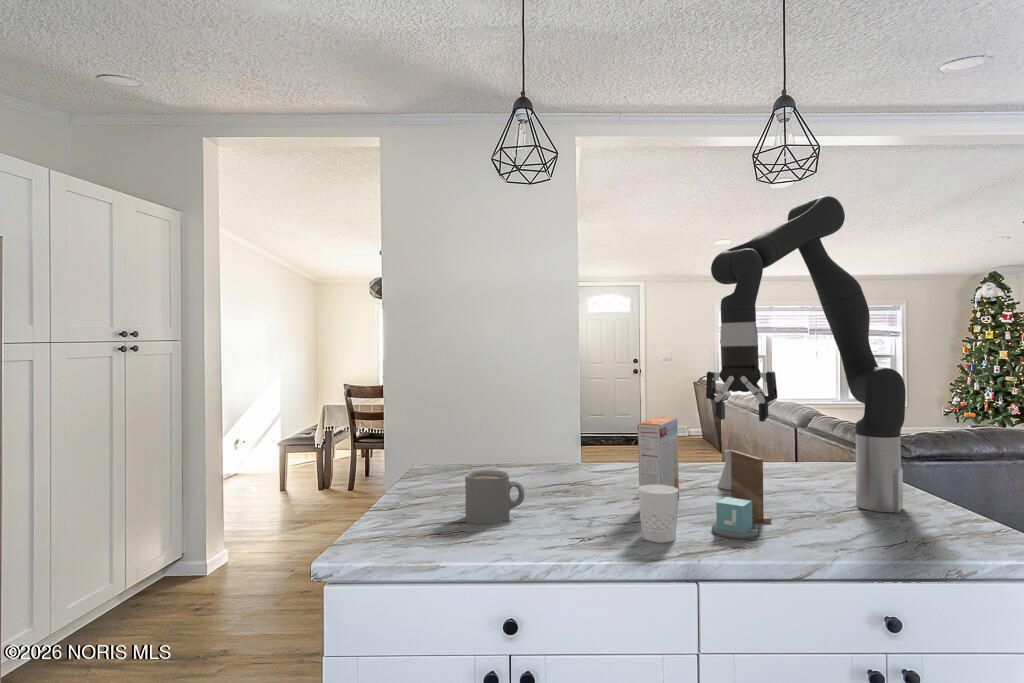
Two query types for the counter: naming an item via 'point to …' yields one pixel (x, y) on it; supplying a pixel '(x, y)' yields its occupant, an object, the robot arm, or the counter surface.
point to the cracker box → (658, 452)
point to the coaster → (735, 533)
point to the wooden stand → (748, 483)
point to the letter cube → (734, 514)
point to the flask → (726, 472)
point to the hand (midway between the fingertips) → (741, 420)
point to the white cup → (658, 512)
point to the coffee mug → (490, 496)
